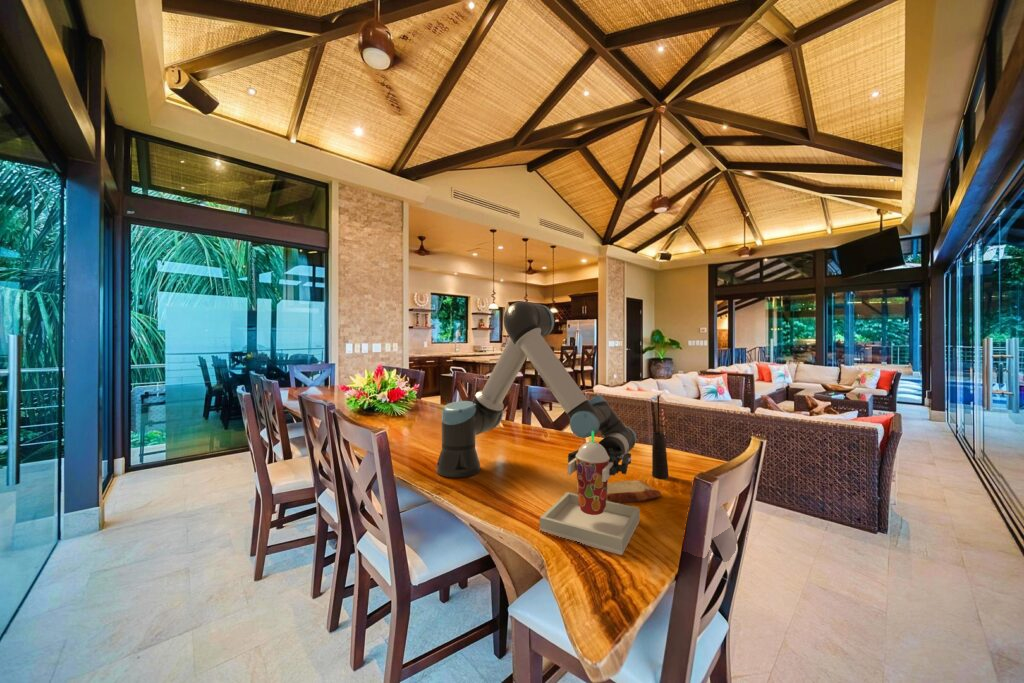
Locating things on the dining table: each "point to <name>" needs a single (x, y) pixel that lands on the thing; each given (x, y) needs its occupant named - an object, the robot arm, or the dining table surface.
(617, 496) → the slice of bread
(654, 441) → the black vase with stems
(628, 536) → the tray
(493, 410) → the robot arm
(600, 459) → the smoothie
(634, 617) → the dining table surface
